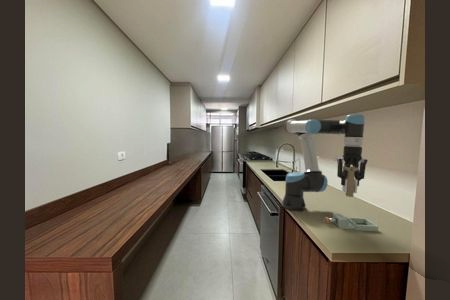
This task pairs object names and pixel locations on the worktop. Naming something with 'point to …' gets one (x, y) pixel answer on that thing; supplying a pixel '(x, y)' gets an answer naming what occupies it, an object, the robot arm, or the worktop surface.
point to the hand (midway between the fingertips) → (349, 191)
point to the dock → (354, 223)
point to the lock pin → (330, 220)
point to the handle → (350, 180)
